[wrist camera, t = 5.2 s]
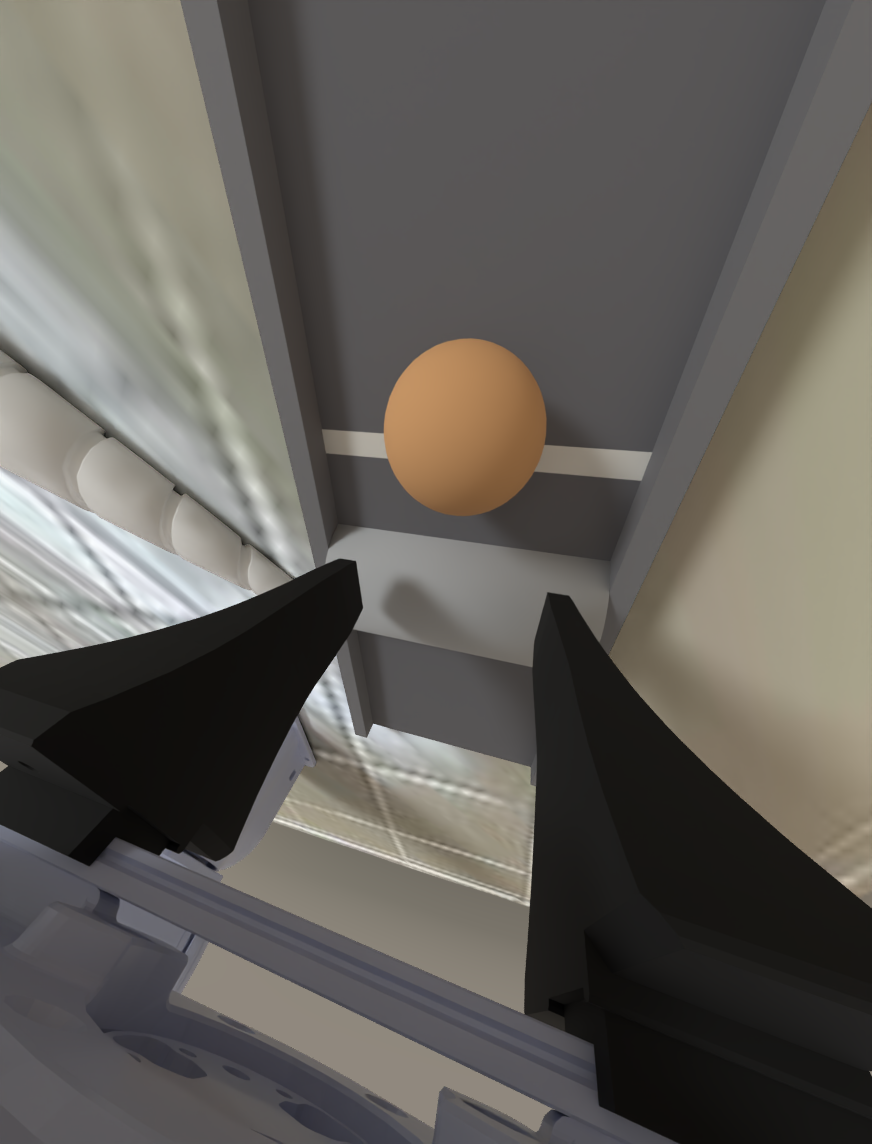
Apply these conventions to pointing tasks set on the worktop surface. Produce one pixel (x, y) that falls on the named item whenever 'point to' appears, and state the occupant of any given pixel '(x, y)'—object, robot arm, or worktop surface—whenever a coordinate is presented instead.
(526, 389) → the ball
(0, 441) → the unicorn horn
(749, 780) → the worktop surface
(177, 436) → the worktop surface
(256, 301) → the divided tray
